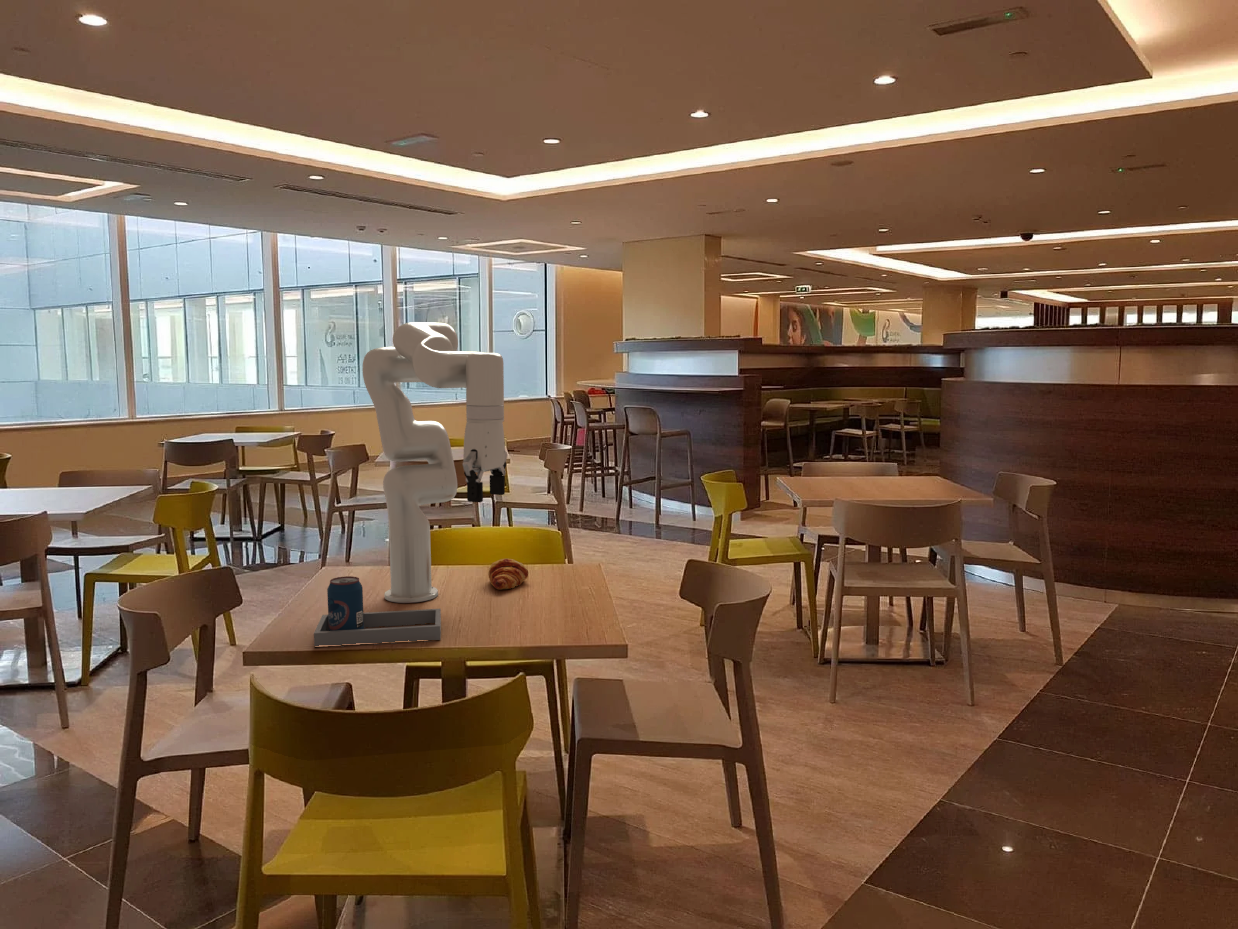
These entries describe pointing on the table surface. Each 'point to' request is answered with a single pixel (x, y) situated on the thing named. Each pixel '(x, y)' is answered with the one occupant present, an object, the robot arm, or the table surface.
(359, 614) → the soda can
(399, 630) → the plastic frame
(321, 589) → the table surface
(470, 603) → the table surface
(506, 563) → the croissant
